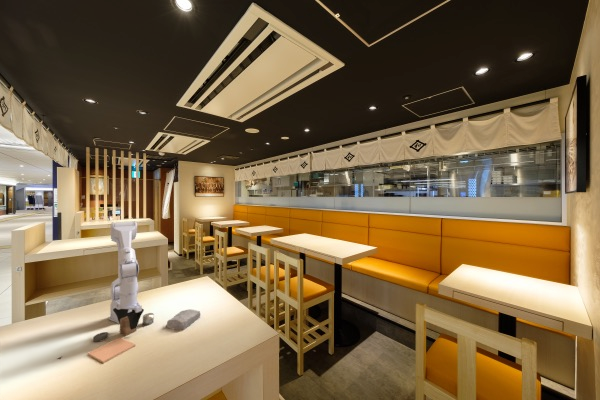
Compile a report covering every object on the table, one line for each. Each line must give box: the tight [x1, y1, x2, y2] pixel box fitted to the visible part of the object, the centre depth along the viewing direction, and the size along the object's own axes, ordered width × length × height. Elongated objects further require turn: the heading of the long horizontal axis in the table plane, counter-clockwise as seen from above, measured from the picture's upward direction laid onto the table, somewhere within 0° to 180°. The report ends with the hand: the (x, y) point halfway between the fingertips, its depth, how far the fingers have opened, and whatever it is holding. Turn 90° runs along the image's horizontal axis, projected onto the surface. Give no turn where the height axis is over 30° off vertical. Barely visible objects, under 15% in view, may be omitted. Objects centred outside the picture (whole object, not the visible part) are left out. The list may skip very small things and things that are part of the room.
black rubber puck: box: [92, 331, 109, 343], centre depth 90 cm, size 4×4×2 cm
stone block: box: [166, 309, 201, 331], centre depth 102 cm, size 12×5×10 cm
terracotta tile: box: [87, 337, 137, 364], centre depth 83 cm, size 10×10×1 cm
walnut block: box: [119, 316, 137, 337], centre depth 94 cm, size 4×4×6 cm
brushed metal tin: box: [142, 312, 155, 326], centre depth 101 cm, size 4×4×4 cm
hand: (128, 326), depth 94 cm, fingers open, 7 cm apart
